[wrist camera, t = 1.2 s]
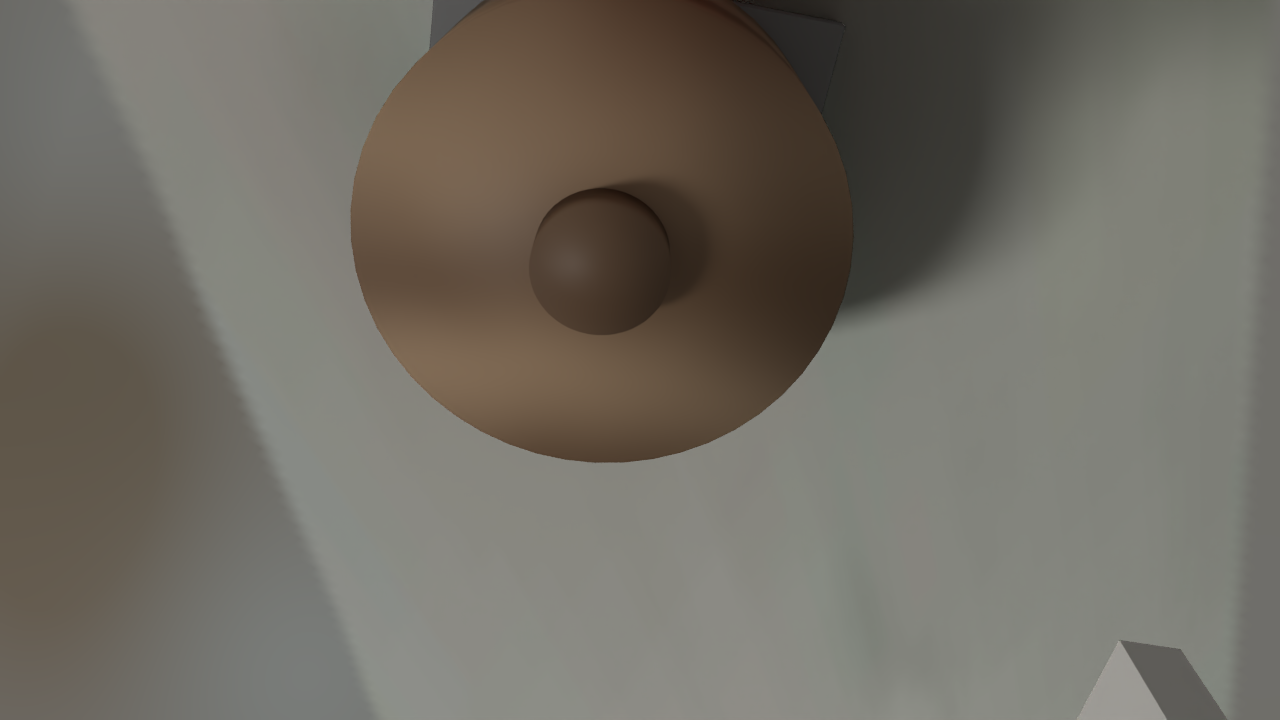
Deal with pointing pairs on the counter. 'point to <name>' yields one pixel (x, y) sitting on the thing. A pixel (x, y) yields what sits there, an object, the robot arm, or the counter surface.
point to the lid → (603, 224)
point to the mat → (796, 35)
